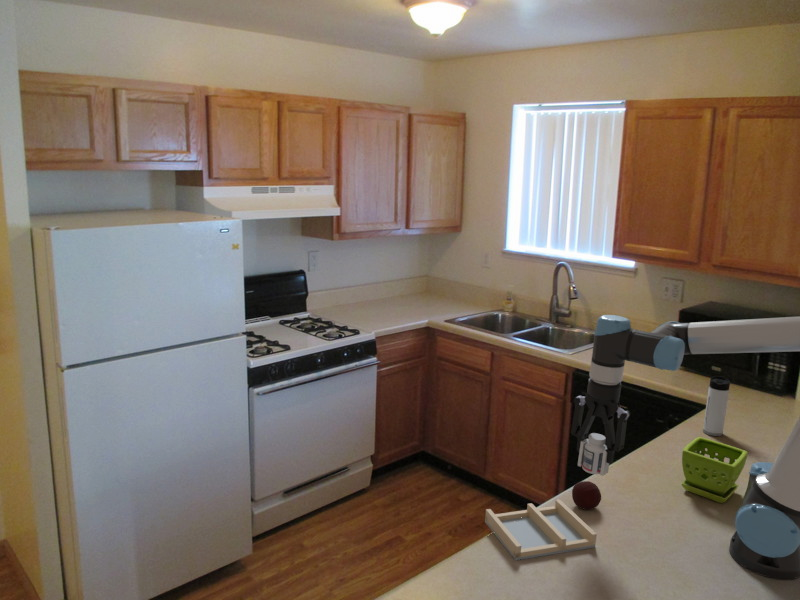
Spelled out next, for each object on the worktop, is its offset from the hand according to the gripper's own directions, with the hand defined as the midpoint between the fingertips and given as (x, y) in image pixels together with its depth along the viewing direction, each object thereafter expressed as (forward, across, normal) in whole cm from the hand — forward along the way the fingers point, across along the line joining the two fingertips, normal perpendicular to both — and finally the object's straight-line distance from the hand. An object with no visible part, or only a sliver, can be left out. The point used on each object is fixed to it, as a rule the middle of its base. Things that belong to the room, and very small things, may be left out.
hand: (592, 468), depth 155 cm
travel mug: (+16, -2, -90) cm, 91 cm away
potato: (+16, +4, -9) cm, 19 cm away
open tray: (+16, +6, +12) cm, 21 cm away
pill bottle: (0, 0, 0) cm, 1 cm away
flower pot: (+15, -16, -44) cm, 49 cm away
